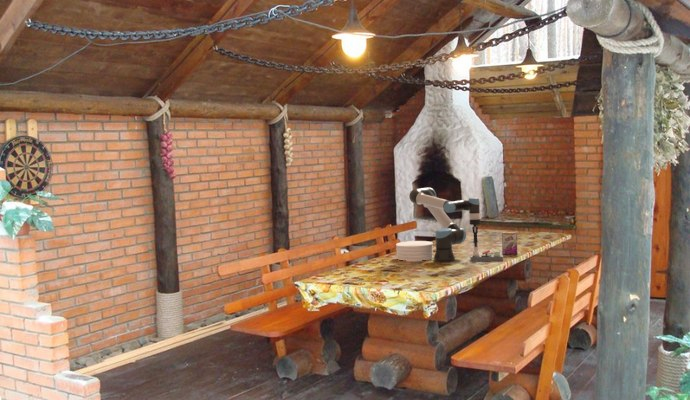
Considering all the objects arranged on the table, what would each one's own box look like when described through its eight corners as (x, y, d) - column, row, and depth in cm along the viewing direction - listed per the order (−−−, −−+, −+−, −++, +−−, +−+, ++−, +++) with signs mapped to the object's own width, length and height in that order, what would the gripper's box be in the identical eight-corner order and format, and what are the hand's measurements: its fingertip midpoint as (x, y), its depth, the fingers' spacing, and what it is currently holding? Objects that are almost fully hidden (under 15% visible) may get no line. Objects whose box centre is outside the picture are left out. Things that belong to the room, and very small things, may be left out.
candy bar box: (502, 254, 514) (501, 232, 513) (502, 253, 519) (501, 231, 517) (517, 254, 511) (516, 232, 510) (517, 253, 516) (517, 231, 514)
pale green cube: (494, 257, 489) (494, 251, 489) (494, 256, 492) (494, 250, 492) (499, 256, 488) (499, 251, 488) (499, 256, 492) (499, 250, 491)
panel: (470, 261, 490) (470, 255, 490) (470, 259, 498) (470, 253, 498) (503, 260, 486) (502, 254, 485) (502, 258, 494) (502, 253, 493)
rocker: (483, 255, 490) (482, 253, 490) (483, 254, 494) (482, 252, 494) (490, 253, 489) (489, 250, 489) (490, 252, 493) (489, 249, 493)
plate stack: (432, 261, 499) (431, 246, 498) (394, 261, 505) (393, 246, 504) (434, 255, 526) (434, 240, 526) (399, 255, 532) (398, 241, 531)
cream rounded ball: (473, 257, 492) (473, 251, 492) (473, 256, 496) (473, 251, 495) (478, 257, 491) (478, 251, 491) (478, 256, 495) (478, 250, 495)
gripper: (479, 219, 484) (481, 252, 486) (480, 217, 497) (481, 249, 499) (469, 220, 486) (470, 252, 487) (469, 218, 498) (470, 249, 500)
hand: (476, 251), depth 493 cm, fingers closed
